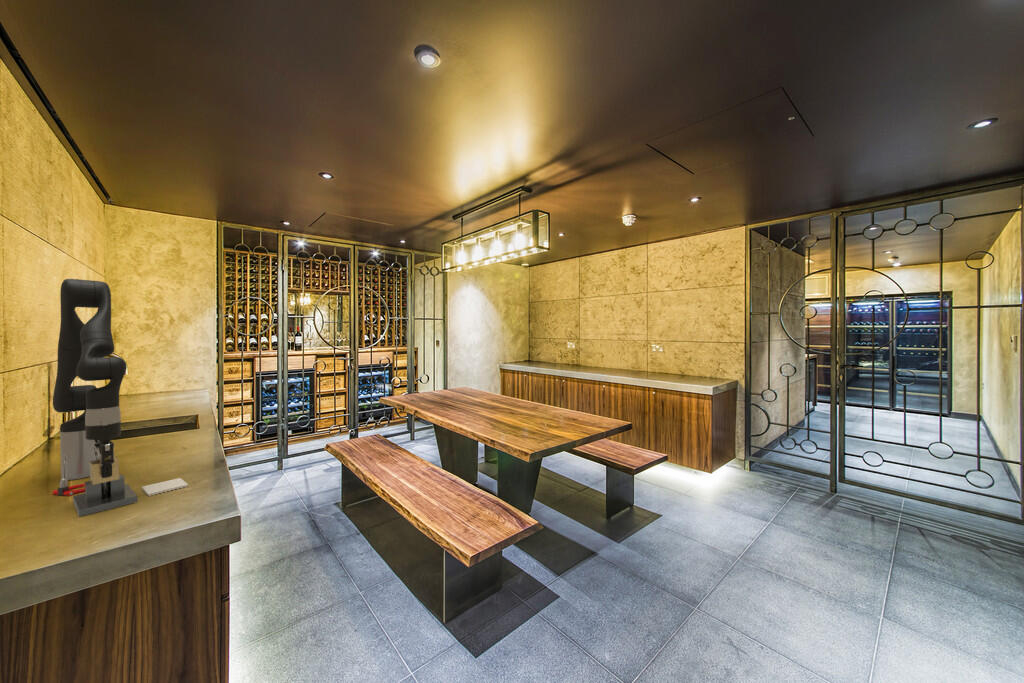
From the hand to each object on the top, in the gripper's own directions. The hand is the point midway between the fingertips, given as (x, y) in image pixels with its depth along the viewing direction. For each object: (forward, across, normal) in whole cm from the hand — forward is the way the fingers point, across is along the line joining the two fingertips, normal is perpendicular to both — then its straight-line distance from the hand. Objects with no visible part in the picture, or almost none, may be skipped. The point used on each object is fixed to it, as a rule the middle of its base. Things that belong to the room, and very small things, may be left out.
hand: (104, 474), depth 119 cm
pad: (+9, 0, +14) cm, 17 cm away
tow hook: (+9, -21, -4) cm, 23 cm away
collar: (+2, 0, 0) cm, 2 cm away
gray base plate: (+9, 0, 0) cm, 9 cm away
